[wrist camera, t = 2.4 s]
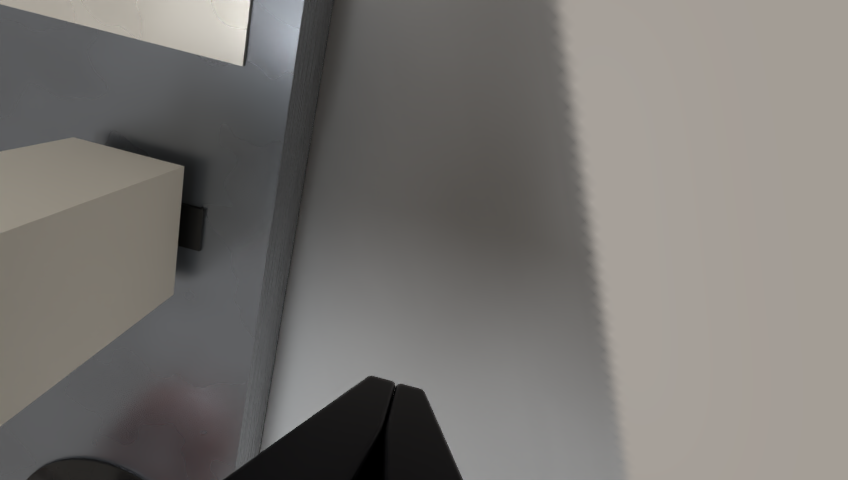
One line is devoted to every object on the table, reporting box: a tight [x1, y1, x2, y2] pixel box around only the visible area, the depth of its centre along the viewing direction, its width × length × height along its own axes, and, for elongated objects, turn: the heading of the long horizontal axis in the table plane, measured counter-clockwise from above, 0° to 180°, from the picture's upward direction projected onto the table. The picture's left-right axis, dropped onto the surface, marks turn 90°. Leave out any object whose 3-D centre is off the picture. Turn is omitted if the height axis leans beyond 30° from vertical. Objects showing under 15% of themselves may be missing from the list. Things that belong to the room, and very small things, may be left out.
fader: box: [0, 137, 184, 426], centre depth 9 cm, size 2×3×5 cm
